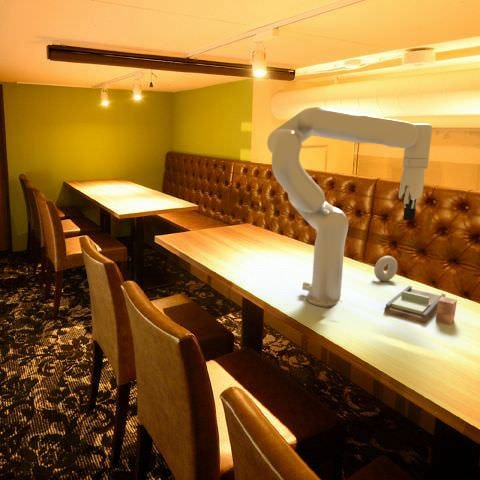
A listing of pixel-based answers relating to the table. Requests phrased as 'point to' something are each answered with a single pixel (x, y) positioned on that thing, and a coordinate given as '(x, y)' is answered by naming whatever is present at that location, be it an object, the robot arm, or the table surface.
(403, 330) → the table surface
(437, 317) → the block
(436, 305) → the puzzle board
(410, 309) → the lid
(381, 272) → the donut
